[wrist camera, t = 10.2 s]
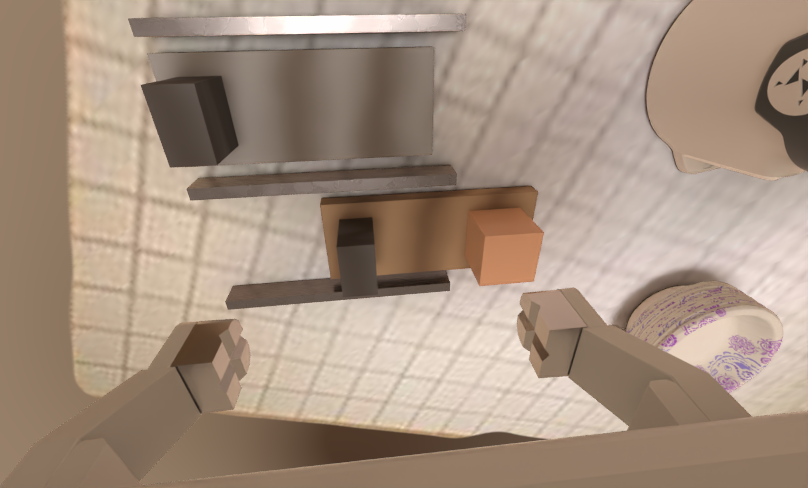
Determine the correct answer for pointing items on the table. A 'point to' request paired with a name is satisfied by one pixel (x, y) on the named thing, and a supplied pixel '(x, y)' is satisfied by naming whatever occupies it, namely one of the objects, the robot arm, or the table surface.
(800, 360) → the table surface
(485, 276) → the clay block
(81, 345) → the table surface
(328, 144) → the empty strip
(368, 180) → the lane rails
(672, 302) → the paper bowls
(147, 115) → the table surface
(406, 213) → the block strip
